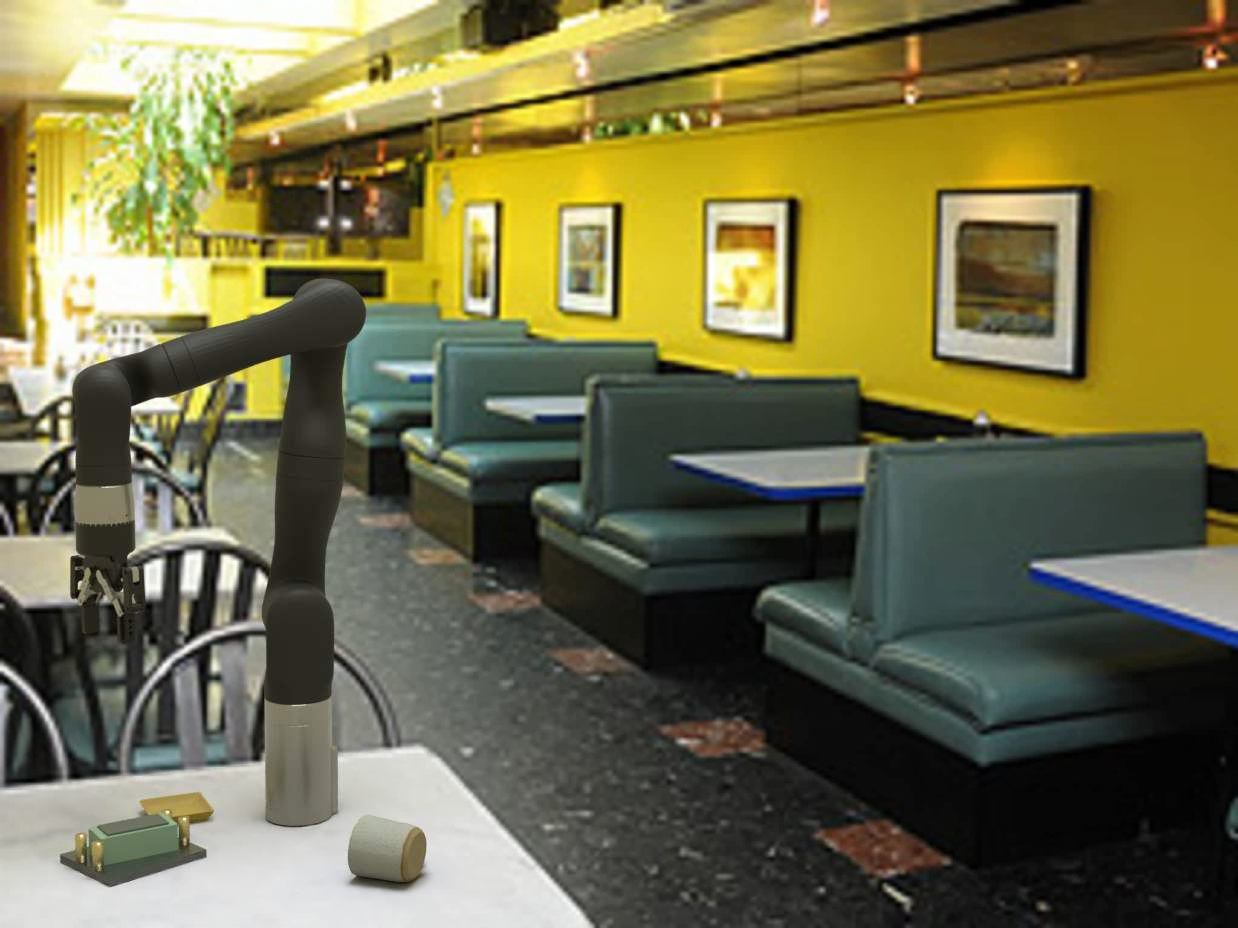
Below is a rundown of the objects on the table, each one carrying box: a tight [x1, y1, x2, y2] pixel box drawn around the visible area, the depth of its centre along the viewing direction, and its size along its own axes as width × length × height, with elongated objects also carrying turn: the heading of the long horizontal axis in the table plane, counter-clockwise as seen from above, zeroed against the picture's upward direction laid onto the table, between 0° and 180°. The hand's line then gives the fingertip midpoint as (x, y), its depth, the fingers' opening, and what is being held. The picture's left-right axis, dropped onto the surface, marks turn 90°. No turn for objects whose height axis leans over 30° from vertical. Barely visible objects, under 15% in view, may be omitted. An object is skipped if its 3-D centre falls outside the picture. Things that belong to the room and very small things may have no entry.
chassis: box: [59, 809, 208, 887], centre depth 209 cm, size 14×12×4 cm
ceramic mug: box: [347, 814, 427, 883], centre depth 206 cm, size 11×8×8 cm
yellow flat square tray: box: [139, 791, 215, 826], centre depth 226 cm, size 9×9×2 cm
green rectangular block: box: [87, 813, 179, 865], centre depth 209 cm, size 10×5×4 cm, turn 126°
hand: (108, 637), depth 214 cm, fingers open, 8 cm apart
